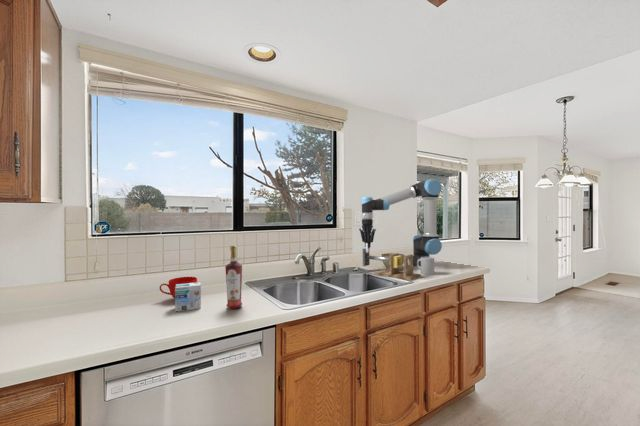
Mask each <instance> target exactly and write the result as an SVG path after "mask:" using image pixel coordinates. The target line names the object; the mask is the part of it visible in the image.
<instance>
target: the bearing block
mask: <svg viewBox="0 0 640 426" xmlns="http://www.w3.org/2000/svg"><path fill="white" fill-rule="evenodd" d="M399 254H400V253H399V252H397V253H395V254H391V255H389V270H387V269H386V268H385V269H382V270H378V271H375V272H373V275H374V276H380V277H387V278H391V279H399V280H404V279H405V280H404V281H410V280H411V281H413V280H416V279H418V278H421V277H422V274H421V273H415V272H414V266H413V255H414V254H407V255H405V256H403V265H402V267H403V271H400V270H399V268H393V260H392V257H393V256H399Z"/></svg>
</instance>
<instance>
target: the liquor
mask: <svg viewBox="0 0 640 426" xmlns="http://www.w3.org/2000/svg"><path fill="white" fill-rule="evenodd" d="M237 248H238V246H237V245H235V244H233V245H230V248H229V249H230V260H229V261H230V262H229V263H228V264H226V265H225V283H226V297H227V302H226V303H227V304H226V307H227V308H228V309H229V310H237V309H240V307H241V306H242V305H243V303H242V285H243V283H242V279H243V264H241V263H239V262H238V258H237Z"/></svg>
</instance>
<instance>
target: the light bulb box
mask: <svg viewBox="0 0 640 426" xmlns="http://www.w3.org/2000/svg"><path fill="white" fill-rule="evenodd" d="M201 284H202V283H201V282H200V281H197V282H196V283H186V284H176V287H175V299H174V311H175V313H176V311H178V312H183V311H185V310H186V311H192V310H193V311H194V310H201V308H202V303H201V302H202V287H201Z"/></svg>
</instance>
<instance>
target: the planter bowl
mask: <svg viewBox="0 0 640 426" xmlns="http://www.w3.org/2000/svg"><path fill="white" fill-rule="evenodd" d="M391 254H395V253H392V252H391V253H382V254H381V257H388V258H389V255H391ZM399 256H402V266H403V256H406V255H405V254H402V253H399ZM382 263H383V265H384V267H385V269H387V270H389V261H382ZM401 268H402V267H399V271H400V270H401Z"/></svg>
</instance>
